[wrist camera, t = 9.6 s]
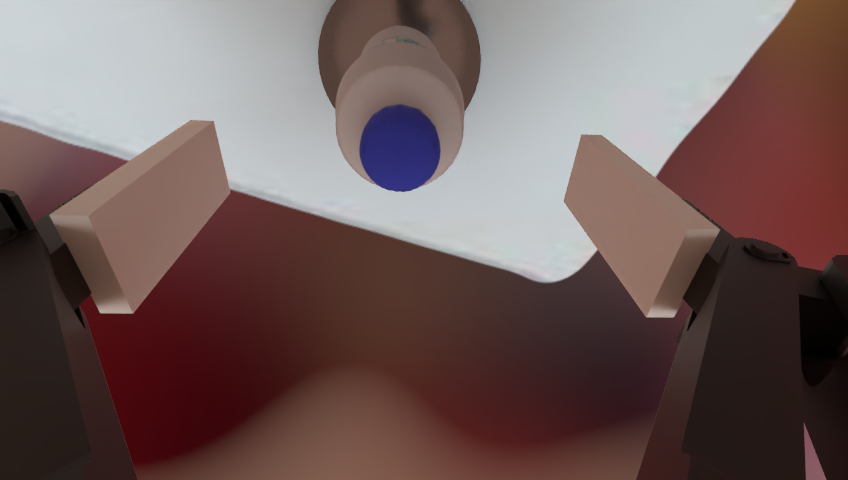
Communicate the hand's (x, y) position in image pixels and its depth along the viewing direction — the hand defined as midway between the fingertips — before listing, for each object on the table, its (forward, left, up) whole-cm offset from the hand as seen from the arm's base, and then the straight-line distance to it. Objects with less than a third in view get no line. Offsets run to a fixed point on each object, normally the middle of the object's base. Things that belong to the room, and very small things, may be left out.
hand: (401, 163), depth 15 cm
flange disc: (0, 0, -22) cm, 22 cm away
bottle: (0, 0, -21) cm, 21 cm away
